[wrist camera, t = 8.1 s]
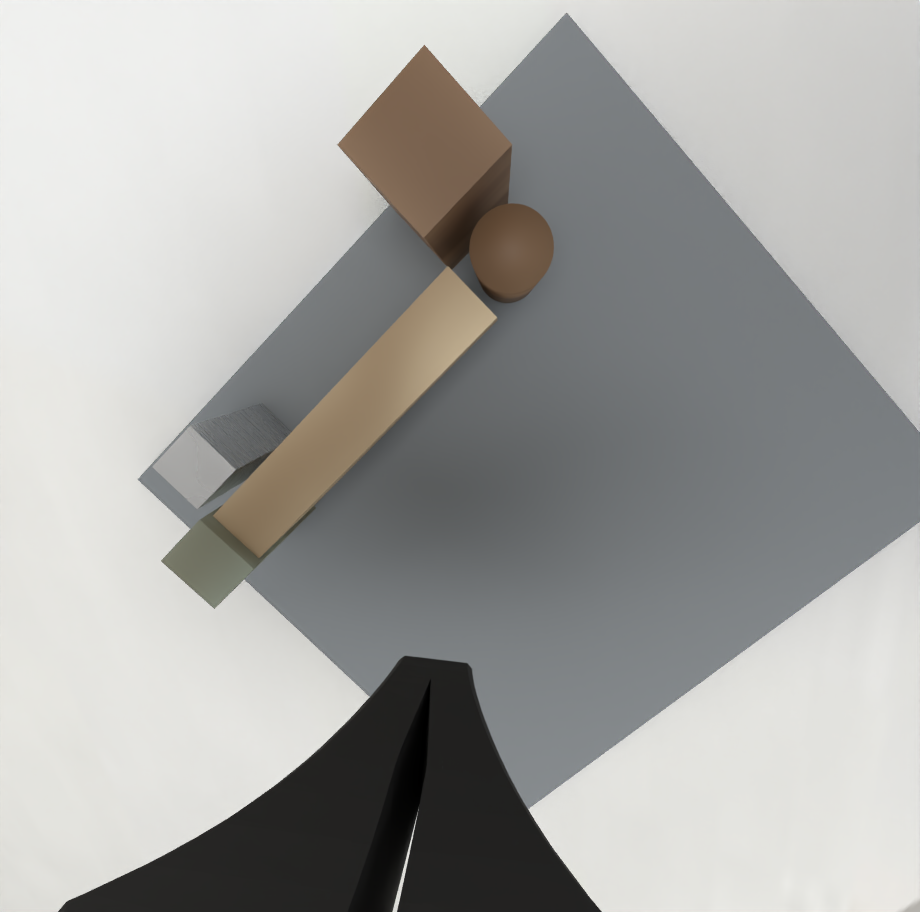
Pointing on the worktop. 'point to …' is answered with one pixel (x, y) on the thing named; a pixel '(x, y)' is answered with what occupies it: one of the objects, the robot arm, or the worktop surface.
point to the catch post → (221, 453)
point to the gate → (364, 404)
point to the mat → (582, 443)
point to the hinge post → (432, 156)
